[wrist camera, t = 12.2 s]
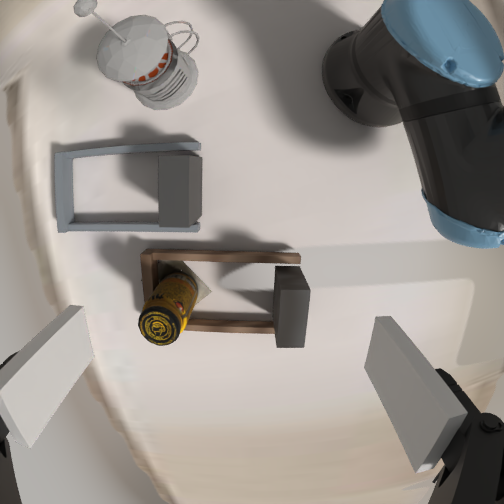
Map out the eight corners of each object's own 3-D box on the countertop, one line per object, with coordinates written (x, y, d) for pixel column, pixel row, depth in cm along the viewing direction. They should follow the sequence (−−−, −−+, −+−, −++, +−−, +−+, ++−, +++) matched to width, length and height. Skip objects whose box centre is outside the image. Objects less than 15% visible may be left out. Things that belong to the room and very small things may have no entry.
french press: (122, 73, 37) (20, 11, 13) (190, 31, 36) (137, -72, 12) (151, 123, 40) (47, 85, 15) (222, 80, 38) (188, -13, 14)
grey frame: (202, 143, 40) (189, 137, 31) (201, 229, 43) (189, 245, 35) (65, 153, 40) (30, 153, 31) (67, 228, 43) (35, 242, 34)
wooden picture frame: (300, 252, 44) (312, 273, 35) (294, 327, 47) (302, 360, 39) (146, 248, 44) (124, 268, 35) (153, 321, 47) (135, 352, 38)
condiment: (179, 318, 48) (160, 361, 36) (141, 279, 46) (110, 313, 34) (212, 290, 46) (200, 330, 35) (172, 249, 45) (147, 277, 33)
